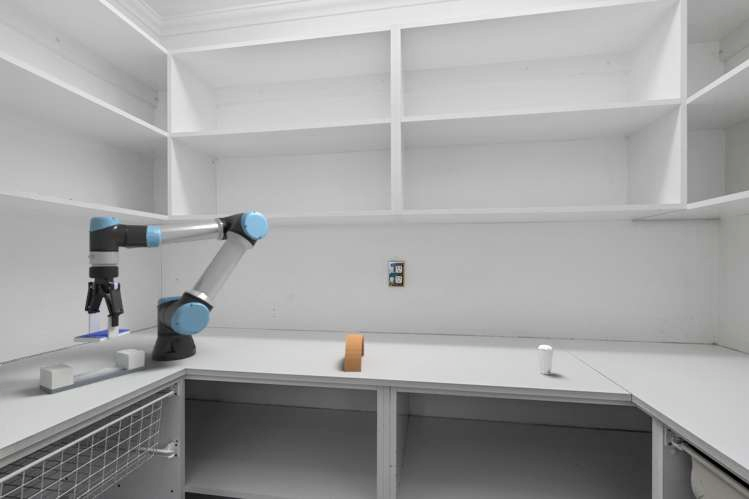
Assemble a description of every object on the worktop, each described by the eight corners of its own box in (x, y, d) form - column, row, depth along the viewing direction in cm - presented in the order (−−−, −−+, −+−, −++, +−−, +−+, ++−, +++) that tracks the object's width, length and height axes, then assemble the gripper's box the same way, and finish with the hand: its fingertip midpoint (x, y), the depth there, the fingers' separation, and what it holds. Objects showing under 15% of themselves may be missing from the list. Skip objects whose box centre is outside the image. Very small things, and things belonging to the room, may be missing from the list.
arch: (343, 371, 121) (343, 341, 121) (349, 355, 141) (349, 329, 141) (361, 371, 120) (361, 342, 121) (364, 355, 140) (364, 329, 141)
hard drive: (99, 337, 107) (130, 329, 120) (73, 336, 108) (106, 328, 120) (99, 342, 107) (130, 333, 120) (73, 342, 108) (106, 333, 120)
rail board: (131, 365, 127) (131, 348, 127) (144, 369, 123) (144, 351, 123) (39, 388, 105) (40, 367, 105) (51, 393, 101) (52, 371, 102)
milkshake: (549, 377, 114) (549, 345, 114) (535, 372, 119) (534, 341, 119) (558, 374, 116) (558, 343, 116) (544, 370, 121) (543, 340, 121)
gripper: (71, 265, 116) (70, 334, 116) (111, 266, 106) (110, 341, 105) (98, 264, 123) (97, 329, 122) (137, 265, 113) (137, 336, 112)
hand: (103, 335), depth 114 cm, fingers closed on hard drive, 10 cm apart
